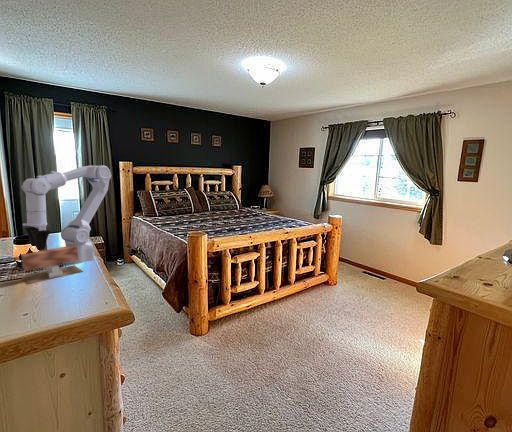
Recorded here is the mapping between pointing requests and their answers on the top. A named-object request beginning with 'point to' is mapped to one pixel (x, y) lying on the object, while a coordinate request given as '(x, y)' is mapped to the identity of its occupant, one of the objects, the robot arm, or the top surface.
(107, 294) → the top surface
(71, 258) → the reddish brown wooden block
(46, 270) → the ridge
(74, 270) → the base board
